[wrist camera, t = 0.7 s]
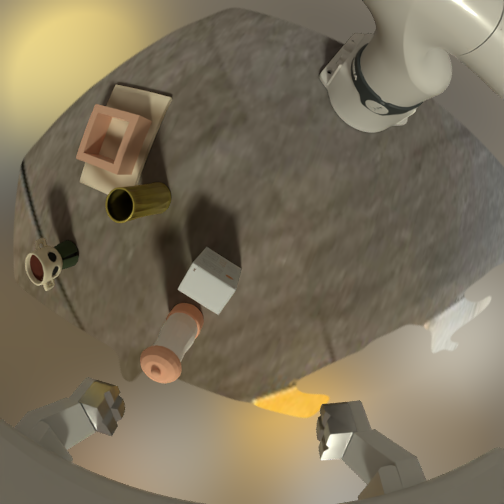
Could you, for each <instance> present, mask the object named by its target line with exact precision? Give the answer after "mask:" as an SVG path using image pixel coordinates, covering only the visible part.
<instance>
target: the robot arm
mask: <svg viewBox="0 0 504 504" xmlns="http://www.w3.org/2000/svg"><path fill="white" fill-rule="evenodd" d="M362 1H363V2H364V3H365V4H366V6H367V7H368V9H369V10H370V12H371V14H372V16H373V18H374V21H375V24H376V31H375V33H374V34H372V33H370V34H369V33H368V34H362V33H354V34H353V35H352V36H351V37H350V38H349V40H348V41H347V42H346V43H345V44H344V45H343V47H342V48H341V49H340V50H339V51H338V52H337V54H336V55H335V56H334V57H333V58H332V60H331V61H330V62H329V63H328V64H327V66H326V67H325V68H324V69H323V71H322V72H321V73H320V75H319V78H320V80H321V82H322V83H323V85H324V86H325V87H326V88H327V91H328V94H329V98H330V101H331V104H332V106H333V108H334V110H335V111H336V113H337V114H338V115H339V117H340V118H341V119H342V120H343V121H345V122H346V123H347V124H348V125H350V126H352V127H353V128H355V129H358V130H360V131H364V132H379V131H383V130H385V129H387V128H389V127H390V126H401V125H404V124H406V123H407V120H408V117H409V116H410V115H412V114H413V113H415V111H416V108H417V107H418V106H420V105H421V104H422V103H423V101H425V100H427V99H430V98H432V97H434V96H436V95H439V94H441V93H442V92H443V91H445V89H446V88H447V87H448V85H449V83H450V81H451V77H452V65H451V61H450V57H449V54H452V55H453V56H454V57H456V58H457V59H458V60H459V61H461V62H462V63H463V64H464V65H465V66H467V67H468V68H469V69H470V70H471V71H472V72H473V73H475V74H476V75H477V76H478V77H479V78H480V79H481V80H482V81H483V82H484V83H485V84H486V85H487V86H488V87H489V88H490V89H492V91H493V92H494V93H495V94H497V95H498V96H499V97H500V98H502V99H503V100H504V0H362ZM448 53H449V54H448ZM328 71H329V72H331V74H329V73H328ZM119 394H120V390H119V388H118V386H116V385H112V384H109V383H105V382H102V381H99V380H95V379H92V378H89V377H88V378H86V379H85V380H84V381H83V382H82V383H81V384H80V386H79V387H78V388H77V389H76V390H75V392H74V393H73V394H72V395H71V397H70V398H64V399H62V400H59V401H56V402H54V403H51V404H48V405H46V406H43V407H40V408H38V409H35V410H32V411H29V412H27V414H26V415H25V416H24V417H23V418H22V419H21V420H20V422H19V423H18V424H17V425H16V426H15V428H14V427H12V426H11V425H10V424H8V423H7V422H6V421H4V420H3V419H2V418H0V504H204V503H197V502H192V501H186V500H181V499H177V498H172V497H168V496H163V495H159V494H156V493H152V492H148V491H144V490H141V489H138V488H135V487H131V486H129V485H126V484H123V483H120V482H117V481H114V480H112V479H109V478H106V477H104V476H101V475H99V474H97V473H94V472H92V471H90V470H87V469H85V468H83V467H81V466H79V465H76V464H74V463H72V460H73V458H72V456H71V455H70V454H69V452H68V451H67V449H69V448H71V447H72V446H74V445H76V444H77V443H79V442H81V441H82V440H84V439H85V438H87V437H89V436H90V435H92V434H94V433H95V432H96V431H97V432H100V433H103V434H106V435H109V436H112V435H113V433H114V432H115V430H116V428H117V426H118V425H117V421H118V420H121V419H122V417H123V415H124V412H125V403H124V400H123V399H122V398H121V397H120V396H119ZM320 414H321V416H320V417H318V420H317V428H316V430H317V431H316V432H317V439H318V440H319V441H320V445H319V454H320V460H331V459H342V460H343V461H344V462H345V463H346V464H347V465H348V466H349V467H350V468H351V469H352V470H353V471H354V472H355V473H356V474H357V475H358V476H359V477H360V478H361V479H362V480H363V481H364V482H365V483H366V484H367V486H366V488H365V489H364V490H363V491H362V492H361V493H360V495H359V496H358V500H357V501H352V502H345V503H339V504H504V449H503V448H494V449H492V450H490V451H489V452H487V453H485V454H483V455H482V456H480V457H478V458H476V459H474V460H472V461H470V462H468V463H466V464H464V465H462V466H460V467H458V468H456V469H454V470H452V471H449V472H447V473H445V474H442V475H440V476H438V477H435V478H433V479H430V480H428V481H426V478H425V476H424V473H423V471H422V468H421V466H420V464H419V461H418V459H417V457H416V456H415V455H413V454H411V453H410V452H408V451H407V450H405V449H403V448H402V447H401V446H399V445H397V444H396V443H394V442H393V441H391V440H390V439H389V438H387V437H386V436H384V435H382V434H381V433H380V432H378V431H377V430H375V429H374V430H371V427H370V424H369V421H368V419H367V416H366V413H365V410H364V408H363V405H362V402H361V401H360V400H359V401H351V402H342V403H330V404H322V405H321V408H320Z"/></svg>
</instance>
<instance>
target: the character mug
mask: <svg viewBox="0 0 504 504" xmlns="http://www.w3.org/2000/svg"><path fill="white" fill-rule="evenodd" d="M41 243H43V247H42V248H40V246H39V244H41ZM35 247H36V250H35V251H32V252H30V253H28V254H27V256H26V258H25V269H26V272H27V275H28V277H29V278H30V280H31V281H32V282H33V283H34V284H35V285H38V286H39V285H42V284H43V286H44V289H45V290H46V291H48V290H49V289H51V288H53V287H54V286H55V283H54V278H55V277H57V276H58V275H59V274H60V273H61V270H62V269H65V268H69V267H71V266H74V265H75V264H76V263H77V262H78V257H79V256H78V255H77V256H75V252H77V248H76V246H75V245H74V244H73V243H72V242H71V241H67V240H66V241H64V242H62V243H60V244H58V245H57V246H55V247H51V246H47V243H46V239H45V238H41V239H38V240H36V241H35ZM48 281H50V285H47V282H48Z"/></svg>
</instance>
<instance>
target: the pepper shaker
mask: <svg viewBox="0 0 504 504" xmlns="http://www.w3.org/2000/svg"><path fill="white" fill-rule="evenodd" d="M203 322H204V320H203V315H202V313H201V312H200V310H199V309H198V308H197V307H195V306H194V305H192V304H189V303H180V304H177V305H176V306H174V307H173V309H172V310H171V312H170V313H169V314H168V316H167V318H166V322H165V323H164V324H163V326H162V327H161V330H160V333H159V336H158V339H157V340H156V342H155V343H154V345H153V346H150V347H148V348H147V349H145V350H144V351H143V352H142V354H141V359H140V363H141V367H142V370H143V371H144V373H145V374H146V375H147V376H148V377H149V378H151V379H152V380H154V381H156V382H160V383H170V382H172V381H175V380H176V379H177V378H178V377H179V376H180V374H181V363H180V362H181V360H182V358H183V356H184V354H185V353H186V351H187V350H188V349H189V348H190V347H191V345H192V344H193V342H194V340H195V338H196V337H197V336H198V335H199V333H200V331H201V328H202V326H203Z"/></svg>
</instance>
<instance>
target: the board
mask: <svg viewBox="0 0 504 504" xmlns="http://www.w3.org/2000/svg"><path fill="white" fill-rule="evenodd" d="M171 101H172V98H171V97H168V96H164V95H160V94H156V93H152V92H148V91H144V90H140V89H135V88H131V87H126V86H121V85H115V87H114V89H113V91H112V94H111V96H110V98H109V100H108V103H107V105H106V107H110V108H114V109H118V110H122V111H125V112H129V113H133V114H136V115H140V116H142V117H144V118H146V119H148V120H151V121H152V123H151V125H150V128H149V130H148V133H147V135H146V137H145V140H144V142H143V145H142V148H141V150H140V153H139V155H138V158H137V161H136V163H135V166H134V169H133V172H132V175H117V174H114V173H112V172H109V171H107V170H104V169H102V168H99V167H97V166H94V165H92V164H89V163H87V162H85V165H84V168H83V172H82V175H81V179H80V182H81V183H83V184H86V185H88V186H90V187H92V188H95V189H97V190H99V191H101V192H104V193H106V194H109V192H110V191H111V190H113V189H114V188H117V187H126V186H135V185H137V184H138V181H139V178H140V176H141V173H142V170H143V167H144V165H145V162H146V159H147V157H148V154H149V151H150V149H151V146H152V144H153V141H154V139H155V137H156V134H157V132H158V129H159V127H160V125H161V122H162V120H163V118H164V116H165V114H166V111H167V109H168V107H169V105H170V103H171ZM128 124H129V122H126V121H123V120H120V119H116V118H112V120H111V123H110V125H109V128H108V130H107V133H106V135H105V138H104V141H103V144H102V146H101V149H100V152H99V154H100V155H103V156H105V157H108V158H111V159H113V160H115V158H116V156H117V153H118V150H119V147H120V145H121V142H122V139H123V137H124V134H125V132H126V129H127V127H128Z"/></svg>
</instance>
